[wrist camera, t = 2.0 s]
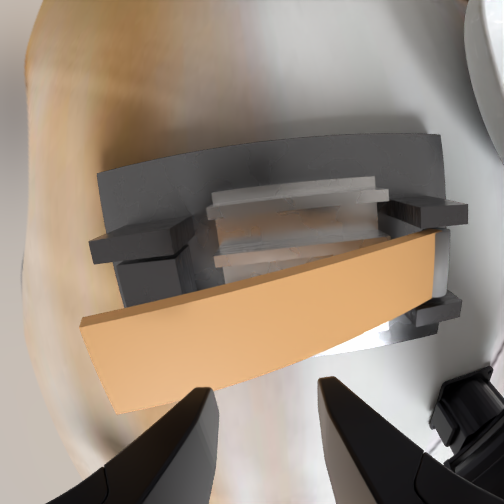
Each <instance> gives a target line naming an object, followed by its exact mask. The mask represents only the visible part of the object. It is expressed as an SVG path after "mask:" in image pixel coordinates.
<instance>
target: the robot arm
mask: <svg viewBox="0 0 504 504" xmlns="http://www.w3.org/2000/svg"><path fill="white" fill-rule="evenodd" d="M492 372H493V368H492V367H491V366H488V367H486V368H483V369H481V370H478V371H475V372H473V373H470V374H467V375H465V376H462V377H459V378H456V379H453V380H450V381H447V382H445V383H444V384H443V385H442V388H441V391H440V394H439V398H438V401H437V404H436V407H435V410H434V413H433V416H432V419H431V422H430V425H429V426H430V428H431V429H432V430H433V429H436V430H437V432H438V434H439V436H440V438H441V440H442V441H443V443H444V445H445V446H446V447H448V446H450V448H451V450H452V452H453V454H454V456H453V457H451V458H450V459H448V460H446V461H445V462H444V465H442V464H441V463H440V462H438V461H437V460H436V459H434V458H433V457H432V456H430V455H429V454H428V453H427V452H425V453H423V452H424V450H423V449H421V448H420V447H419V446H418V445H416V444H415V443H414V442H413V441H411V440H410V439H409V438H408V437H406V436H405V435H404V434H403V433H401V432H400V431H399V430H398V429H397V428H395V427H394V426H393V425H392V424H390V423H389V422H388V421H387V420H386V419H384V418H383V417H382V416H381V415H380V414H378V413H377V412H376V411H375V410H374V409H372V408H371V407H370V406H369V405H368V404H366V403H365V402H364V401H363V400H362V399H361V398H359V397H358V396H357V395H356V394H355V393H354V392H352V391H351V390H350V389H349V388H348V387H347V386H345V385H344V384H343V383H342V382H341V381H340V380H338V379H337V378H336V377H334V376H330V377H324V378H319V379H318V412H319V419H320V427H321V435H322V443H323V451H324V457H325V462H326V467H327V470H328V474H329V478H330V482H331V485H332V489H333V493H334V497H335V501H336V504H504V398H503V397H502V395H501V394H500V393H499V392H498V391H497V389H496V388H495V387H494V386H493V385H492V384H491V382H490V378H491V375H492ZM218 428H219V410H218V406H217V403H216V399H215V395H214V392H213V389H212V388H211V387H196V388H194V389H193V390H192V391H191V392H189V393H188V394H187V395H186V396H185V397H184V398H183V399H182V400H181V401H179V402H178V403H177V404H176V405H175V406H174V407H173V408H172V409H170V410H169V411H168V412H167V413H166V414H165V415H164V416H162V417H161V418H160V419H159V420H158V421H157V422H156V423H154V424H153V425H152V426H151V427H150V428H149V429H147V430H146V431H145V432H144V433H143V434H141V435H140V436H139V437H138V438H137V439H136V440H134V441H133V442H132V443H131V444H130V445H128V446H127V447H126V448H125V449H123V450H122V451H121V452H120V453H119V454H117V455H116V456H115V457H114V458H112V459H111V460H110V461H109V462H107V463H106V464H105V465H104V467H101V468H100V469H98V470H97V471H96V472H94V473H93V474H92V475H90V476H89V477H88V478H86V479H85V480H84V481H82V482H81V483H79V484H78V485H76V486H75V487H73V488H72V489H70V490H68V491H67V492H65V493H64V494H62V495H60V496H59V497H57V498H55V499H53V500H51V501H49V502H48V503H46V504H209V499H210V494H211V489H212V485H213V480H214V475H215V469H216V460H217V444H218Z"/></svg>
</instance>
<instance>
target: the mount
mask: <svg viewBox="0 0 504 504" xmlns="http://www.w3.org/2000/svg"><path fill="white" fill-rule="evenodd" d="M97 180H98V187H99V194H100V200H101V206H102V212H103V218H104V223H105V228H106V234H104V235H102V236H100V237H97V238H95V239H93V240H90V241H89V246H90V250H91V255H92V259H93V263H94V264H101V263H109V262H113V266H114V270H115V274H116V278H117V282H118V286H119V290H120V293H121V297H122V301H123V304H124V308H127V307H132V306H136V305H141V304H145V303H149V302H154V301H158V300H162V299H166V298H171V297H175V296H179V295H183V294H187V293H191V292H196V291H200V290H204V289H208V288H212V287H216V286H220V285H224V284H228V283H232V282H236V281H240V280H244V279H248V278H252V277H256V276H260V275H263V274H267V273H271V272H275V271H279V270H283V269H286V268H290V267H294V266H298V265H302V264H305V263H309V262H313V261H317V260H320V259H324V258H328V257H331V256H335V255H339V254H342V253H346V252H349V251H353V250H357V249H360V248H364V247H367V246H371V245H374V244H378V243H382V242H385V241H389V240H392V239H395V238H399V237H402V236H406V235H409V234H413V233H416V232H420V231H422V229H424V228H433V227H440V228H446V226H452V225H462V224H468V204H465V203H460V202H456V201H451V200H446V194H445V176H444V163H443V153H442V144H441V136H440V135H437V134H349V135H330V136H315V137H302V138H291V139H281V140H271V141H263V142H254V143H247V144H239V145H232V146H226V147H219V148H213V149H207V150H201V151H195V152H190V153H184V154H179V155H174V156H169V157H164V158H159V159H155V160H150V161H145V162H141V163H137V164H132V165H128V166H124V167H120V168H116V169H112V170H108V171H105V172H101V173H97ZM461 304H462V300H461V299H459V298H458V297H457V296H455V295H454V294H453V293H452V292H450V291H449V290H447V292H446V294H445V295H444V296H442V297H433V298H431V299H430V300H428V301H426V302H424V303H422V304H421V305H419V306H417V307H415V308H413V309H411V310H410V311H408V312H406V313H404V314H402V315H400V316H398V317H396V318H394V319H392V320H390V321H388V322H386V323H384V324H382V325H380V326H378V327H376V328H374V329H372V330H370V331H368V332H366V333H364V334H362V335H360V336H357V337H355V338H353V339H351V340H349V341H347V342H344V343H342V344H340V345H338V346H335V347H333V348H331V349H328V350H326V351H324V352H321V353H319V354H316V355H314V356H312V357H315V356H323V355H330V354H337V353H343V352H350V351H356V350H361V349H367V348H373V347H378V346H383V345H388V344H393V343H398V342H403V341H407V340H412V339H416V338H421V337H425V336H429V335H433V334H437V331H438V325H439V322H441V321H445V320H449V319H453V318H457V317H460V311H461Z"/></svg>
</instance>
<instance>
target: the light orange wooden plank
mask: <svg viewBox="0 0 504 504" xmlns="http://www.w3.org/2000/svg"><path fill="white" fill-rule="evenodd" d="M449 253H450V230H449V229H446V228H440V227H433V228H424V229H422V231H420V232H416V233H413V234H409V235H406V236H402V237H399V238H395V239H392V240H389V241H385V242H382V243H378V244H374V245H371V246H367V247H364V248H360V249H357V250H353V251H349V252H346V253H342V254H339V255H335V256H331V257H328V258H324V259H320V260H317V261H313V262H309V263H305V264H302V265H298V266H294V267H290V268H286V269H283V270H279V271H275V272H271V273H267V274H263V275H260V276H256V277H252V278H248V279H244V280H240V281H236V282H232V283H228V284H224V285H220V286H216V287H212V288H208V289H204V290H200V291H196V292H191V293H187V294H183V295H179V296H175V297H171V298H166V299H162V300H158V301H154V302H149V303H145V304H141V305H136V306H132V307H127V308H123V309H119V310H114V311H110V312H105V313H101V314H96V315H92V316H87V317H83V318H82V320H81V323H80V326H79V329H80V332H81V334H82V337H83V340H84V342H85V345H86V348H87V350H88V353H89V355H90V358H91V360H92V362H93V365H94V367H95V370H96V372H97V374H98V377H99V379H100V381H101V383H102V385H103V388H104V390H105V392H106V394H107V396H108V398H109V400H110V402H111V404H112V406H113V408H114V410H115V412H116V414H117V415H118V414H123V413H128V412H133V411H138V410H142V409H147V408H151V407H156V406H160V405H164V404H168V403H172V402H176V401H180V400H182V399H183V398H184V397H185V396H186V395H187V394H188V393H189V392H191V391H192V390H193V389H194V388H196V387H211V388H212V389H213V391H215V390H219V389H222V388H225V387H228V386H232V385H235V384H238V383H241V382H244V381H247V380H250V379H253V378H256V377H259V376H262V375H264V374H267V373H270V372H273V371H275V370H278V369H281V368H284V367H286V366H289V365H291V364H294V363H297V362H299V361H302V360H304V359H307V358H309V357H312V356H314V355H316V354H319V353H321V352H324V351H326V350H328V349H331V348H333V347H335V346H338V345H340V344H342V343H344V342H347V341H349V340H351V339H353V338H355V337H357V336H360V335H362V334H364V333H366V332H368V331H370V330H372V329H374V328H376V327H378V326H380V325H382V324H384V323H386V322H388V321H390V320H392V319H394V318H396V317H398V316H400V315H402V314H404V313H406V312H408V311H410V310H411V309H413V308H415V307H417V306H419V305H421V304H422V303H424V302H426V301H428V300H430V299H431V298H433V297H442V296H444V295H445V294H446V292H447V282H448V270H449Z"/></svg>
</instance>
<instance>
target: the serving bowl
mask: <svg viewBox="0 0 504 504" xmlns="http://www.w3.org/2000/svg"><path fill="white" fill-rule="evenodd" d="M464 43H465V53H466V60H467V65H468V70H469V75H470V79H471V83H472V87H473V91H474V94H475V97H476V101H477V104H478V107H479V110H480V113H481V115H482V118H483V121H484V124H485V126H486V129H487V131H488V134H489V136H490V138H491V140H492V143H493V145H494V147H495V149H496V151H497V153H498V155H499V157H500V159H501V161H502V163H503V165H504V0H469V2H468V5H467V8H466V13H465V22H464Z"/></svg>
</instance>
